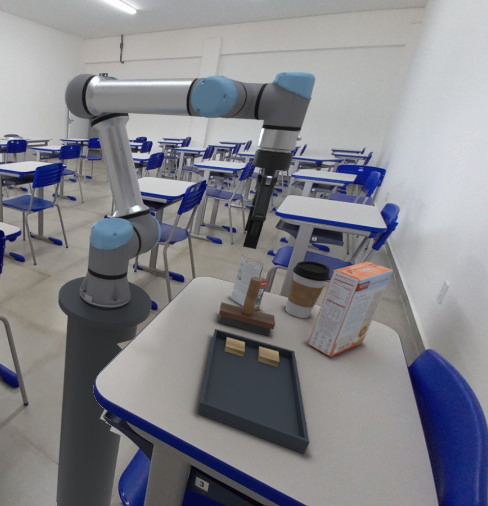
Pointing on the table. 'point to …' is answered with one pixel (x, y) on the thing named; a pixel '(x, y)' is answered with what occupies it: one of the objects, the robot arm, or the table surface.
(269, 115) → the robot arm
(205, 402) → the tray
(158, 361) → the table surface
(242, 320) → the brush
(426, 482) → the table surface
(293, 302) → the coffee cup
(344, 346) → the cracker box
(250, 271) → the ink box
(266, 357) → the chip
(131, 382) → the table surface
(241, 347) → the tan square block
